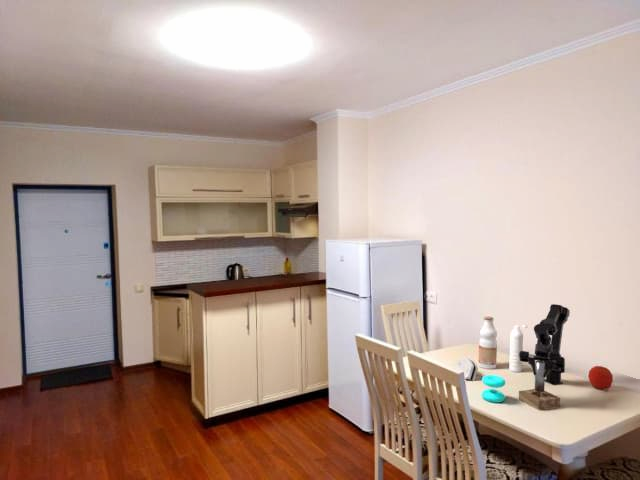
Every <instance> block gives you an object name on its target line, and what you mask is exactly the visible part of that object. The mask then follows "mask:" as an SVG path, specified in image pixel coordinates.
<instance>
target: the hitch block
mask: <svg viewBox="0 0 640 480" xmlns="http://www.w3.org/2000/svg"><path fill="white" fill-rule="evenodd" d="M518 400H519V401H521V402H523V403H525V404H527V405H528V406H530V407H532V408H534V409H535V410H537V411H541V410H549V409H555V408H560V407H561V398H560V396H557V395H555V394H553V393H551V392H548V391H547V390H545V389H544V392H538V391H535V388H532V389H531V388H530V389H523V390H519V391H518Z"/></svg>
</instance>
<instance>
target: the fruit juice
mask: <svg viewBox="0 0 640 480" xmlns="http://www.w3.org/2000/svg"><path fill="white" fill-rule="evenodd" d="M483 320H484V323H483V325H482V327H481V329H480V330H479V337H480V338H479V341H478V366H479V367H480V368H481V369H485V370H493V369H496V368H497V357H498V356H497V354H498V349H497V348H498V343H497V336H498V333H497V330H496V327H495V325H494V317H492V316H484V317H483Z"/></svg>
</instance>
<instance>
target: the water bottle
mask: <svg viewBox="0 0 640 480" xmlns="http://www.w3.org/2000/svg"><path fill="white" fill-rule="evenodd" d="M521 327H522V328H523V329H526V328H528V325H527V324H526V325H525V324H522V325H521ZM523 344H524V334H523V332H522V330H521V329H520V325H518V324H517V325H514V328H512V330H511V332H510V333H509V359H508V361H509V363H508V364H509V365H508V370H509V371H511V372H513V373H521V372H522V371H523V362H522V361H520V358H519V352H520V351H524V349H523V347H524V345H523Z"/></svg>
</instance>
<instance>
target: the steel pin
mask: <svg viewBox="0 0 640 480" xmlns="http://www.w3.org/2000/svg"><path fill="white" fill-rule="evenodd" d="M544 376H545V362H544V361H538V360H535V375H534V389H535V391H538V392H544V390H545V385H546V384H545V383H546V381H545V379H546V377H544Z"/></svg>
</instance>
